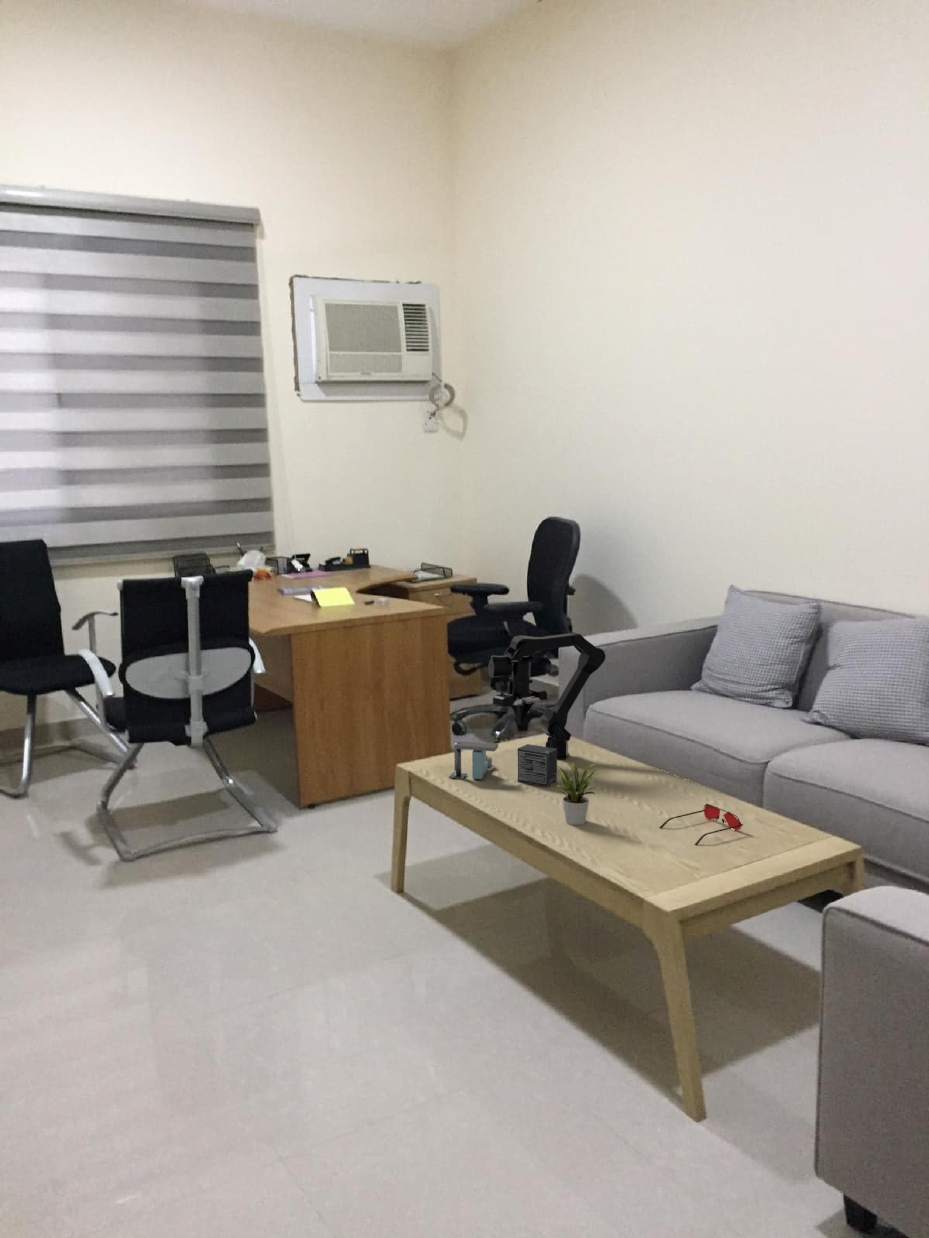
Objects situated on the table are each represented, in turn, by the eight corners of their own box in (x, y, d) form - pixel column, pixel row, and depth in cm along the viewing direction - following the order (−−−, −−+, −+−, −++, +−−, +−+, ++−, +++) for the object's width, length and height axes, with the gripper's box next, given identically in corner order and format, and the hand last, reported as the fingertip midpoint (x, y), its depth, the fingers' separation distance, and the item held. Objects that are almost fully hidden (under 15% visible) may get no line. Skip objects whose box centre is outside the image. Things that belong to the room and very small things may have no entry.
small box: (558, 781, 302) (558, 747, 300) (548, 787, 296) (548, 753, 295) (527, 776, 307) (527, 742, 306) (516, 781, 302) (516, 748, 300)
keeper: (498, 777, 306) (498, 743, 304) (494, 782, 301) (494, 748, 300) (453, 773, 310) (453, 740, 308) (448, 778, 305) (448, 744, 304)
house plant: (610, 814, 273) (611, 756, 270) (603, 832, 260) (604, 771, 257) (558, 810, 277) (559, 753, 274) (549, 827, 264) (549, 767, 261)
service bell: (497, 764, 318) (497, 753, 318) (492, 771, 312) (492, 759, 311) (476, 763, 320) (476, 751, 320) (470, 769, 314) (470, 757, 313)
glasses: (743, 834, 259) (744, 816, 258) (695, 847, 251) (695, 828, 250) (705, 818, 271) (706, 800, 270) (658, 829, 263) (658, 811, 262)
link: (478, 763, 319) (477, 738, 318) (493, 764, 318) (492, 738, 317) (469, 778, 304) (469, 751, 303) (484, 779, 303) (484, 752, 302)
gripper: (525, 668, 331) (524, 714, 333) (482, 675, 319) (481, 722, 322) (549, 674, 322) (547, 721, 325) (505, 681, 311) (504, 730, 313)
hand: (519, 723), depth 321 cm, fingers closed
